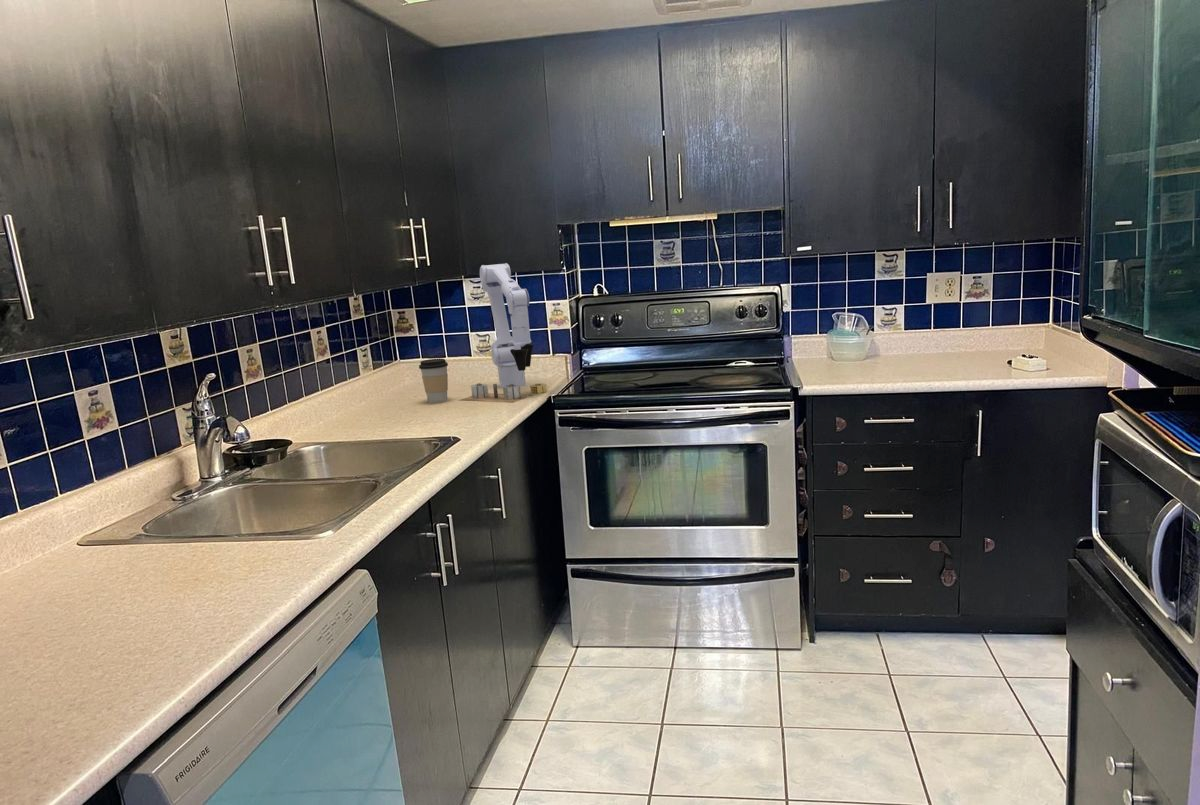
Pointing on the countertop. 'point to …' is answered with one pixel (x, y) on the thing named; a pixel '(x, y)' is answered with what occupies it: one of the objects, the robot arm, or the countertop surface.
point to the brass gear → (538, 388)
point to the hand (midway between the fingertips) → (524, 368)
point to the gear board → (495, 396)
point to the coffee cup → (435, 379)
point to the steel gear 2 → (511, 392)
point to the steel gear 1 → (479, 391)
